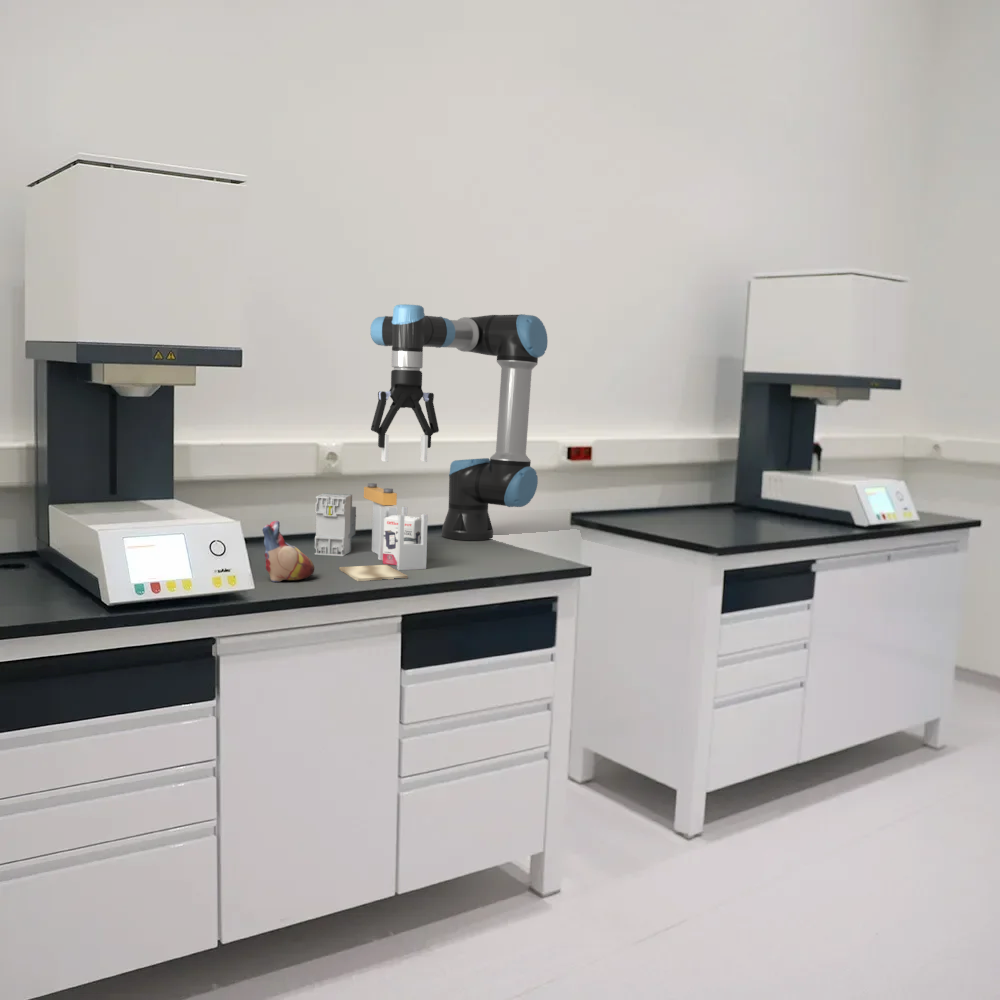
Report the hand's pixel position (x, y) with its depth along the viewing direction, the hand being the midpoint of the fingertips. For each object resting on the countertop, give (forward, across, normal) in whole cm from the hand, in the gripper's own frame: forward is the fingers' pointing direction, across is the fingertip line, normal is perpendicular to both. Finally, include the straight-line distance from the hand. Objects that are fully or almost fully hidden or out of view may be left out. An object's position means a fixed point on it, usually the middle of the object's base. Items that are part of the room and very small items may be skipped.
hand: (404, 461), depth 245 cm
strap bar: (+12, 0, -17) cm, 21 cm away
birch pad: (+26, +11, +10) cm, 30 cm away
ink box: (+26, 0, 0) cm, 26 cm away
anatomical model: (+26, +31, +11) cm, 42 cm away
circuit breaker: (+26, +10, -22) cm, 35 cm away
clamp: (+26, 0, -6) cm, 26 cm away
